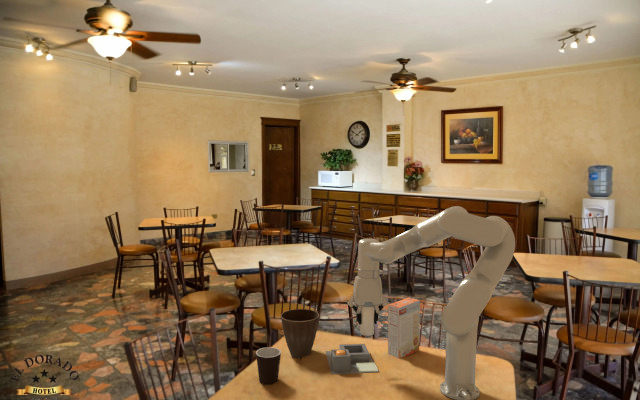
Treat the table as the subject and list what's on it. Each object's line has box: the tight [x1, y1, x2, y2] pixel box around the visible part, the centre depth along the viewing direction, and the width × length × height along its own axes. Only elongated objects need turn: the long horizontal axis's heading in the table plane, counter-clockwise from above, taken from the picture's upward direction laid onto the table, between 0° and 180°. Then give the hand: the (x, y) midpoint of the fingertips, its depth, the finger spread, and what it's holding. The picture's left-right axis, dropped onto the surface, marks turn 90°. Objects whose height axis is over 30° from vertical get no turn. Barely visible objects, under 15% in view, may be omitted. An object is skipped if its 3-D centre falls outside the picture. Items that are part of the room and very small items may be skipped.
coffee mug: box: [255, 346, 282, 386], centre depth 162 cm, size 12×9×10 cm
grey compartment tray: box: [325, 343, 379, 375], centre depth 174 cm, size 20×17×6 cm
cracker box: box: [387, 297, 421, 359], centre depth 183 cm, size 14×6×21 cm, turn 134°
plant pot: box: [280, 308, 320, 359], centre depth 182 cm, size 15×15×16 cm
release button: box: [336, 349, 346, 356], centre depth 168 cm, size 4×4×4 cm
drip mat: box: [356, 361, 379, 374], centre depth 169 cm, size 7×7×1 cm
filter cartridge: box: [359, 302, 375, 337], centre depth 167 cm, size 5×5×12 cm
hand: (367, 322), depth 167 cm, fingers closed on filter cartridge, 5 cm apart
